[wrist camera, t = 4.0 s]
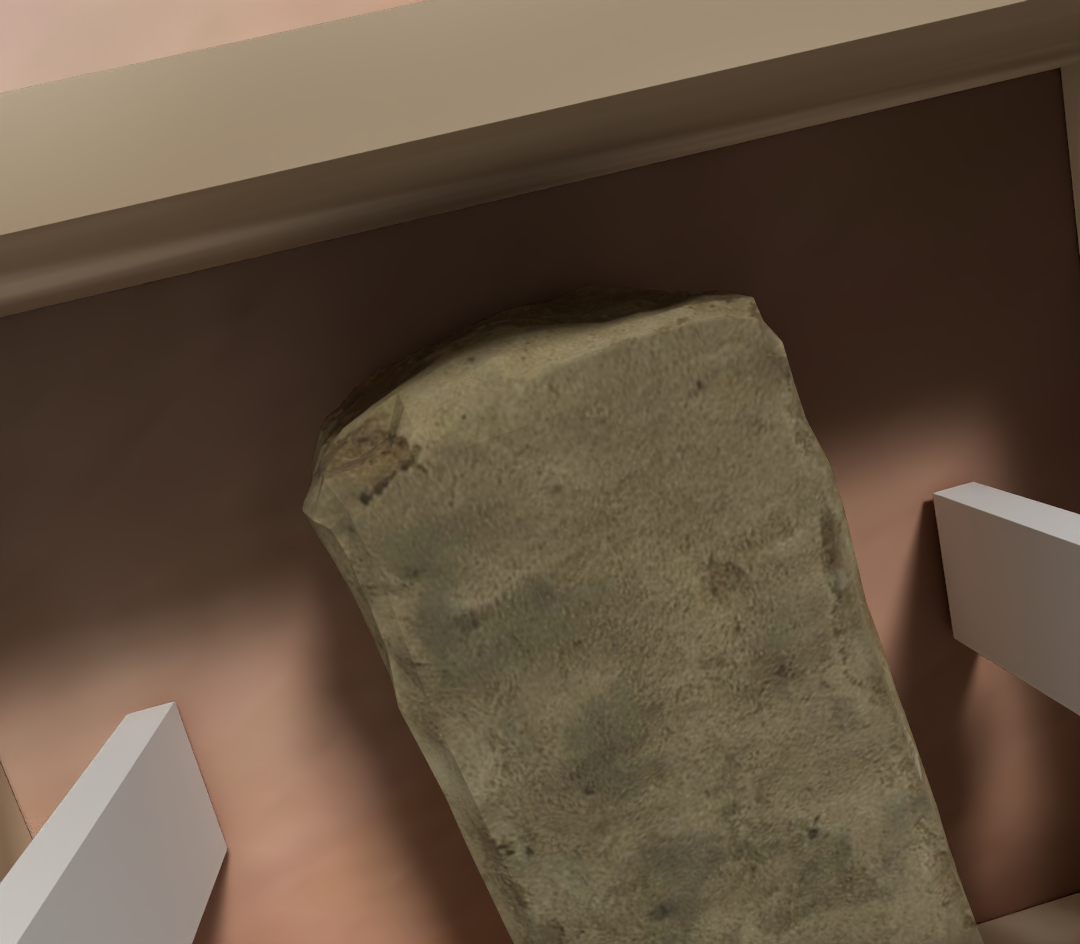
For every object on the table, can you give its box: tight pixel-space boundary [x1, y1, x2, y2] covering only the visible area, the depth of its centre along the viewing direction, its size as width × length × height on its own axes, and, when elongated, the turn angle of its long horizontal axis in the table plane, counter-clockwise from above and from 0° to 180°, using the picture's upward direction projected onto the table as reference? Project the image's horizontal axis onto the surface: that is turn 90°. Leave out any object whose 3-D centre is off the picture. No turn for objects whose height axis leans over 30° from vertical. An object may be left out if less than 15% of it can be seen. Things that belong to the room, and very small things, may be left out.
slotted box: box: [0, 0, 1080, 944], centre depth 12 cm, size 17×21×6 cm
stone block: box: [302, 287, 984, 944], centre depth 12 cm, size 6×12×5 cm, turn 24°
